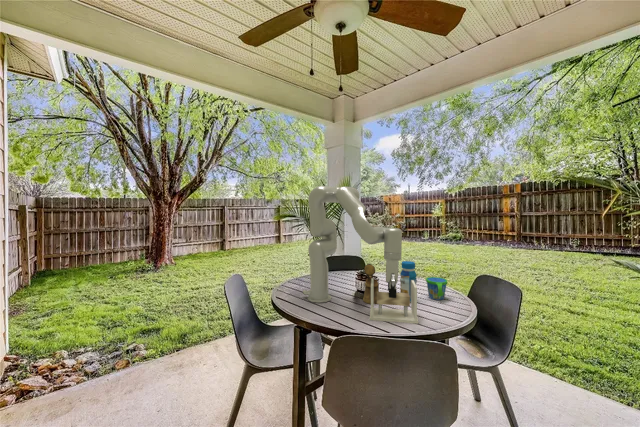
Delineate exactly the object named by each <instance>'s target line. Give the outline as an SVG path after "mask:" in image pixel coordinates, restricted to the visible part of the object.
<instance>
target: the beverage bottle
mask: <svg viewBox="0 0 640 427" xmlns="http://www.w3.org/2000/svg"><path fill="white" fill-rule="evenodd" d="M401 269H402V270H401V271H400V273H399V276H400V278H399V282H400V291H399V293H409V296H410V303H411V280H414V282H415V284H416V285H417V283H418V279H417V272H416V271H415V269H416V263H415V261H410V260H404V261H403V260H402V261H401Z"/></svg>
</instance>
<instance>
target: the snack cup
mask: <svg viewBox="0 0 640 427" xmlns="http://www.w3.org/2000/svg"><path fill="white" fill-rule="evenodd" d="M425 281H426V285H427V286H426V287H427V293H428V298H430V299H431V300H436V301H443V300H444V299H445V295H446V291H447V285H448V283H449V282H448V279H447V278H443V277H439V276H436V277H435V276H430V277H429V276H428V277H426V278H425Z"/></svg>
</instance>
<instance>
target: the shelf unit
mask: <svg viewBox="0 0 640 427" xmlns="http://www.w3.org/2000/svg"><path fill="white" fill-rule="evenodd" d="M374 279H375V278H371V304H370V309H369V321H376V322H388V323H389V322H390V323H401V324H402V323H403V324H404V323H405V324H415V325H416V324H419V319H418V287H417V283H416V284H415V282H414V280H411V302H410V307H411V308H410V309H409V308H408V307H409V306H403V309H398V308H397V309H395V308H383V304H378V308H377V307H374V306H375V304H374Z"/></svg>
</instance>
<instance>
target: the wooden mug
mask: <svg viewBox="0 0 640 427" xmlns="http://www.w3.org/2000/svg"><path fill="white" fill-rule="evenodd" d="M363 272H364V274H365V275H366V276H367V278H366V279H365V282H364V294H363V298H362V300H363V303H365V304H369V305H371V278H373V277H374V275H375V273H376V268H375V266H374V265H373V264H371V263H367V264H366V265H365V266H364V269H363ZM377 292H380V291H379V282H378V279H375V278H374V305H378V304H377Z"/></svg>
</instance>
